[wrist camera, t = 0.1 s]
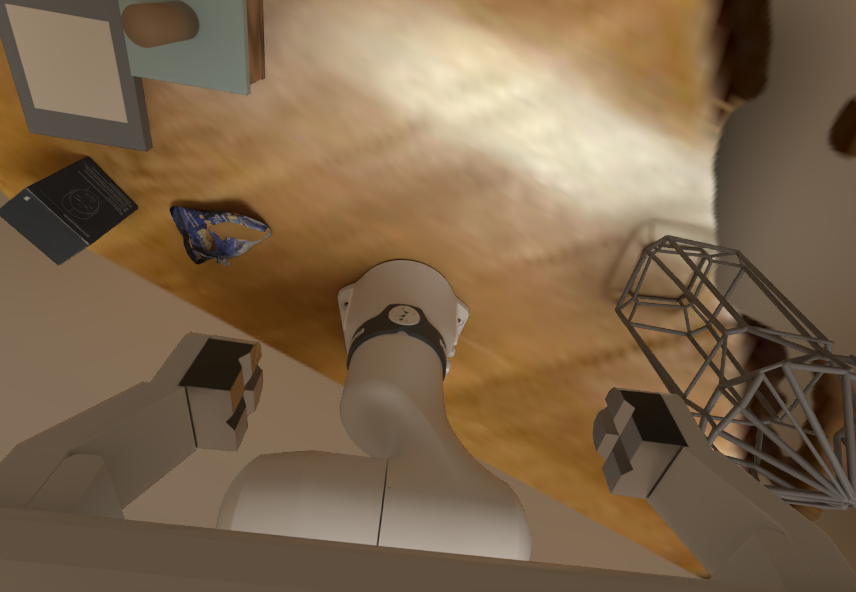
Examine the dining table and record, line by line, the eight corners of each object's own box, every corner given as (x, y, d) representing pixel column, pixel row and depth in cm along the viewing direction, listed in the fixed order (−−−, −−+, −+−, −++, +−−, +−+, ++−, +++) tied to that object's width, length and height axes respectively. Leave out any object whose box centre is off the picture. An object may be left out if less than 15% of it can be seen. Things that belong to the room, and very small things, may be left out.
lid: (250, 93, 47) (218, 111, 40) (136, 73, 46) (85, 89, 40) (244, -41, 41) (205, -46, 34) (113, -66, 40) (48, -76, 33)
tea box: (265, 78, 52) (246, 88, 47) (170, 61, 51) (140, 70, 46) (261, -34, 46) (239, -37, 41) (154, -54, 45) (119, -59, 40)
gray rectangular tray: (152, 147, 56) (145, 151, 55) (39, 129, 55) (29, 132, 54) (126, -11, 47) (117, -11, 46) (-9, -36, 47) (-23, -36, 45)
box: (59, 177, 59) (-8, 211, 50) (89, 154, 57) (24, 186, 48) (111, 227, 62) (57, 267, 53) (140, 207, 61) (89, 245, 52)
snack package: (261, 279, 67) (280, 210, 61) (236, 303, 61) (255, 230, 55) (182, 241, 66) (194, 167, 60) (151, 261, 61) (160, 183, 54)
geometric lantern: (590, 308, 68) (701, 548, 38) (634, 206, 59) (822, 410, 30) (694, 326, 69) (883, 574, 39) (752, 228, 60) (1048, 447, 31)
